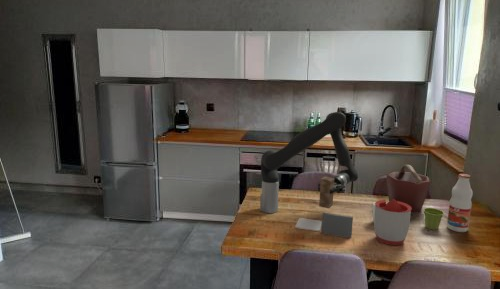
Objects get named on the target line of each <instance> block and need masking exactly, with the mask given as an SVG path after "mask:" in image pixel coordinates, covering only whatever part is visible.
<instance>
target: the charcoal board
mask: <svg viewBox="0 0 500 289" xmlns="http://www.w3.org/2000/svg"><path fill="white" fill-rule="evenodd" d="M321 221H322V226H321V229H320V234H323V235H329V236H337V237H344V238H350V239H352V232H353V222H354V216H351V215H343V214H336V213H331V212H322V215H321Z"/></svg>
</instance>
